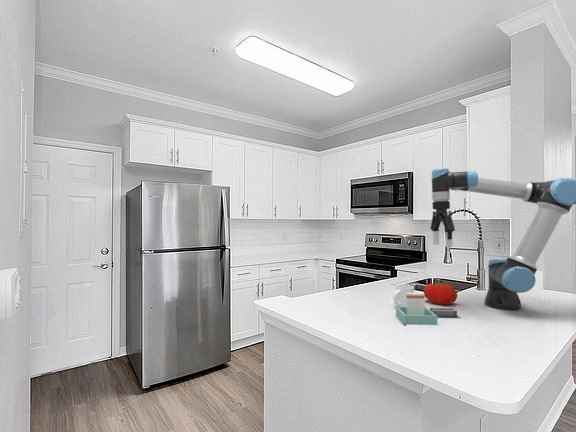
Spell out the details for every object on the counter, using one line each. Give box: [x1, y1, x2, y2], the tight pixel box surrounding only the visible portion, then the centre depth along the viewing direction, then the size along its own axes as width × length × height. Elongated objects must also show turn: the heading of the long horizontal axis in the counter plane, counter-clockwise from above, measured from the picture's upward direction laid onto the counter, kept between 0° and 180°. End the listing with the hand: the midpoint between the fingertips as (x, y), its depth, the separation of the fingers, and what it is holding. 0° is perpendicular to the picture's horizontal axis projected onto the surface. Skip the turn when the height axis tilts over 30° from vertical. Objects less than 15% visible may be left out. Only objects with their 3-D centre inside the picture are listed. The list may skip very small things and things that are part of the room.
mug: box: [393, 283, 415, 307], centre depth 157 cm, size 12×8×10 cm
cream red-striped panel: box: [407, 292, 426, 315], centre depth 137 cm, size 7×1×11 cm, turn 86°
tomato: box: [423, 282, 458, 306], centre depth 164 cm, size 14×16×10 cm
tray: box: [395, 306, 438, 326], centre depth 137 cm, size 13×13×4 cm
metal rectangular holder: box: [429, 307, 461, 319], centre depth 143 cm, size 12×8×3 cm, turn 86°
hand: (442, 245), depth 154 cm, fingers open, 13 cm apart
